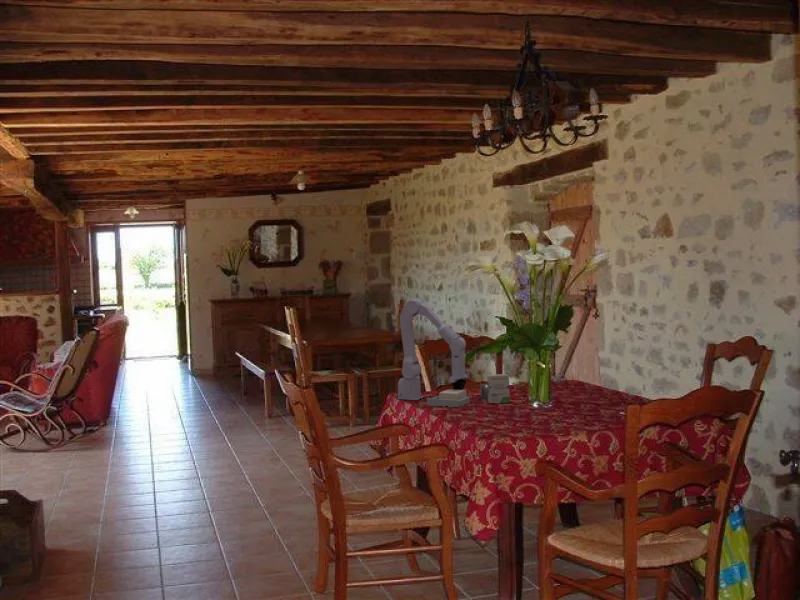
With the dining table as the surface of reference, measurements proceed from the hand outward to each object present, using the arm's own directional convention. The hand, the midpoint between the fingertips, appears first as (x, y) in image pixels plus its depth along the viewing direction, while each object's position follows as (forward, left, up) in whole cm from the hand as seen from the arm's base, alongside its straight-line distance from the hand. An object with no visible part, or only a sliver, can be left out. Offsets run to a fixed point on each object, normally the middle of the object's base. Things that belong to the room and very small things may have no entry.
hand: (459, 397), depth 379 cm
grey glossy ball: (+10, +8, -2) cm, 13 cm away
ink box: (+18, +1, -2) cm, 18 cm away
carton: (0, -7, -2) cm, 7 cm away
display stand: (0, -10, -1) cm, 10 cm away
